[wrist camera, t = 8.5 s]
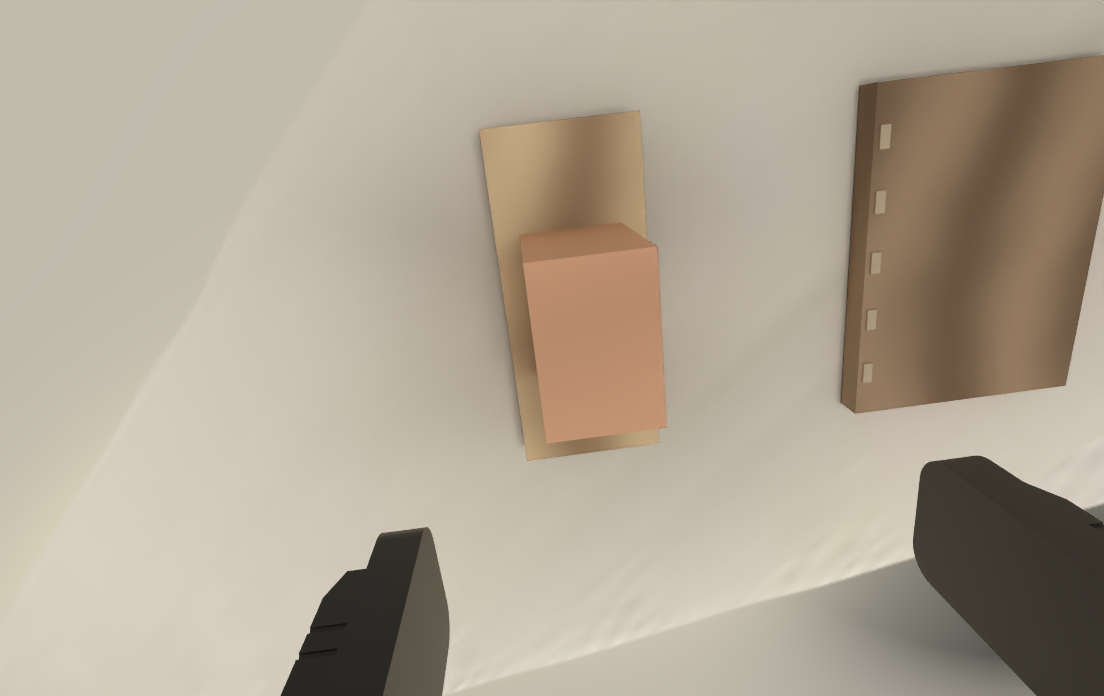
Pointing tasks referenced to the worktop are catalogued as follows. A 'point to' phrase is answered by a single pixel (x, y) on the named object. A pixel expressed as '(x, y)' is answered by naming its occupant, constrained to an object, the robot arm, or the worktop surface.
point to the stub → (578, 282)
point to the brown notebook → (971, 232)
